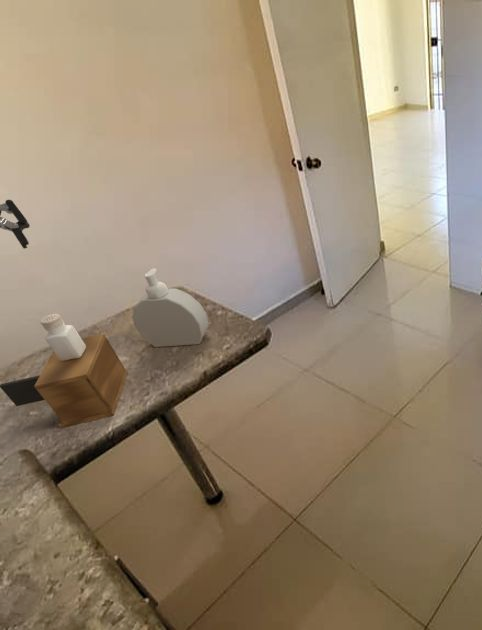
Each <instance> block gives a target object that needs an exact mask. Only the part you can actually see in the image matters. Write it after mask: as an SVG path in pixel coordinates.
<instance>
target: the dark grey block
mask: <svg viewBox="0 0 482 630" xmlns="http://www.w3.org/2000/svg"><path fill="white" fill-rule="evenodd" d="M40 375H41V374H40ZM40 375H39V374H38V375H34V376H31V377H25V378H21V379H17V380H12V381H9V382H8V381H7V382H3V383H0V389H1V391H2V392H4V394H5V395H6V396H7V397H8V398H9V399H10V401H11V402H12V403H13V404H14V405H15V406H16V407H20V406H24V405H29V404H32V403H38V402H41V401H45V399H44V398H43V397H42V396H41V394H40V393H39V392H38V391H37V389H36V388H35V387H34V385H35V384H36V382H37V380H38V378H39V376H40Z"/></svg>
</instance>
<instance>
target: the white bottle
mask: <svg viewBox="0 0 482 630" xmlns="http://www.w3.org/2000/svg"><path fill="white" fill-rule="evenodd" d="M39 324H41V326H42V327H43V329H44V330H45V331H46V332H47V333H46V334H45V341H46V343H47V344H48V345H49V347H50V348H51V350H52V352H53V351H54V352H55V354H56V355H57V356H58V358H59V359H60V360H61V361H65V360H70V359H75V358H79V357H81V356H82V354H83V352H84V350H85V349H86V345H85V343H84V342H83V340H82V339H81V338H82V337H81V336H80V334H79V333H78V332H77V330H76V328H75V327H74V325H73V324H65V321H64V320H63V318H62V317H61V315H60V314H58V313H51V314H47V315H45V316H43V317H42V318H40V321H39Z"/></svg>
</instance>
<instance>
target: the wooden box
mask: <svg viewBox="0 0 482 630" xmlns="http://www.w3.org/2000/svg"><path fill="white" fill-rule="evenodd" d="M81 339H82V340H83V342H84V343H85V345H86V349H85V350H84V352H83V354H82V356H81V357H79V358H75V359H70V360H65V361H61V360H60V359H59V358H58V356H57V355H56V354H55V352H54V351H53V350H52V353H51V355H50V356H49V359H48V361H47V362H46V364H45V366H44V368H43V369H42V371H41V372H40V376H39V375H38V376H39V378H38V380H37V382H36V384H35V385H34V387H35V388H36V389H37V391H38V392H39V393H40V394H41V396H42V397H43V398H44V399H45V400H44V401H45V402H46V403H47V405H48V406H49V408H51V410H52V411H53V412H54V413H55V414H56V417H58V418H59V420H60V421H59V423H58V426H59V427H60V429H64V428H68V427H72V426H75V425H76V426H77V425H80V424H84V423H88V422H91V421H92V422H93V421H95V420H101V419H104V418H109V417H111V416H115V414H116V410H117V407H118V404H119V402H120V397H121V394H122V392H123V388H124V385H125V382H126V378H127V377H128V371H127V370H126V368H125V366H124V364H123V363H122V361H121V360H120V358H119V356H118V354H117V353H116V351H115V350H114V348H113V346H112V345H111V343H110V342H109V340H108V338H107V336H106V335H105V334H104V333H101V334H96V335H92V336H91V335H90V336H86V337H81Z"/></svg>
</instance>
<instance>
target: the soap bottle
mask: <svg viewBox="0 0 482 630" xmlns="http://www.w3.org/2000/svg"><path fill="white" fill-rule="evenodd" d="M157 272H158V269H157V268H156V267H153V268H152V269H150V270H148V271H147V272H146V273H145V274H144V278H145V280H146V281H147V284H148V285H147V286H146V287H145V292H146V293H145V294H144V295H143V296H142V297H141V299H140V300H139V301H138V302H137V303H136V304H135V305H134V307H133V311H132V316H131V318H132V322H133V326H134V328H135V330H136V331H137V333H138V334H139V335H140V336H141V337H142V339H143V340H144V341H146V342H147V343H148V344H150V345H152V346H153V348H162V347H163V348H164V347H178V346H191V345H192V346H193V345H194V346H195V345H200V344H201V342H202V341H203V339H204V337H205V335H206V333H207V331H208V328H209V326H210V325H209V319H208V313H207V312H206V310H205V309H204V307H203V306H202V304H201V303H200V302H199V301H198V300H197V299H196V298H194V297H193V296H192V295H191V294H189V293H187V292H185V291H183V290H180V289H178V288H176V287H175V288H174V287H173V288H168V287H167V285H166V283H165V282H162V281H159V280H158V279H157V276H156V275H157Z"/></svg>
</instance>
